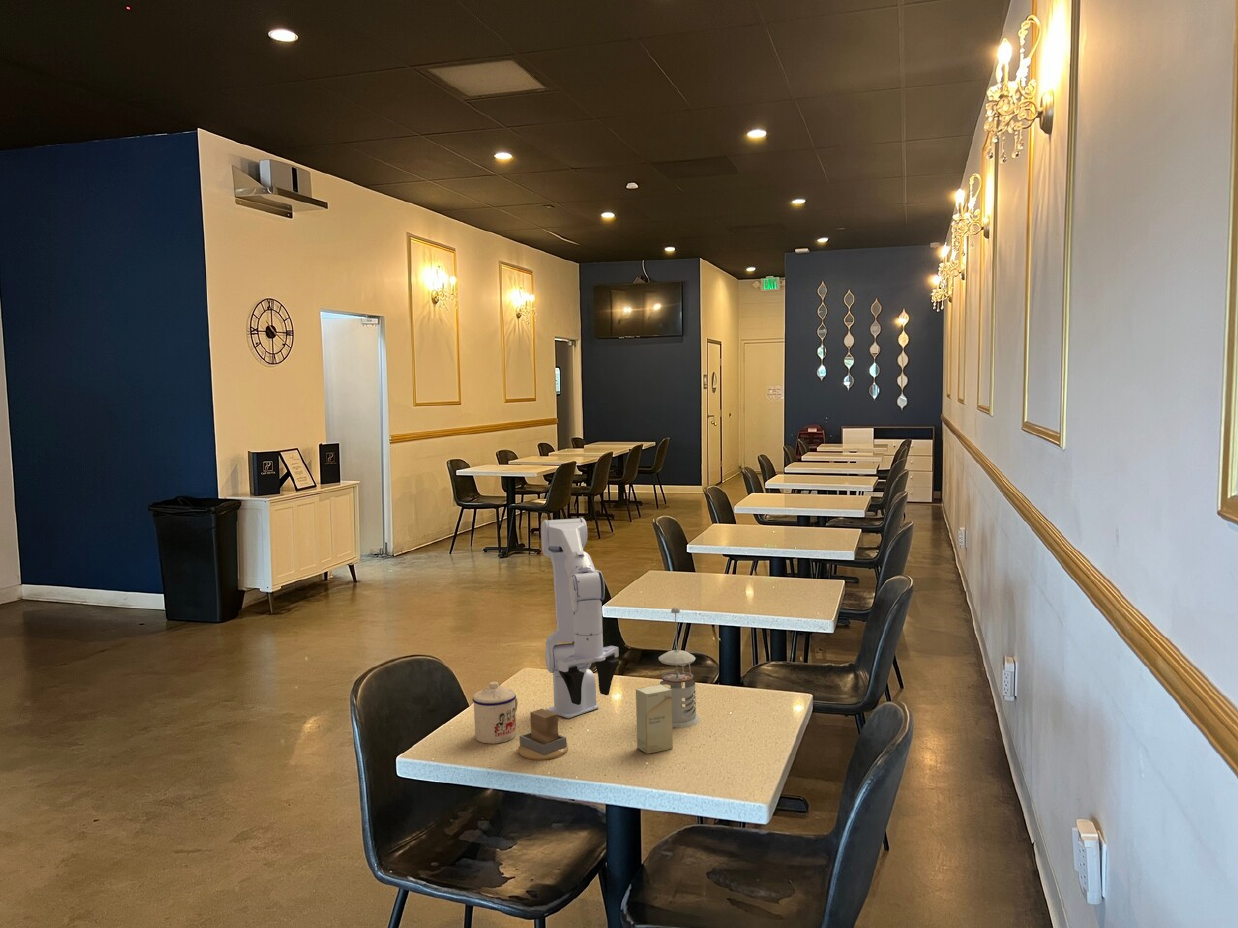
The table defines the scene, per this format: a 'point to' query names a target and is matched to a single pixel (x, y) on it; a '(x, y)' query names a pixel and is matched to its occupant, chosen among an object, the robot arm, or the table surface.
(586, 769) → the table surface
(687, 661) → the french press
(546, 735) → the brown wooden block
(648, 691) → the skincare box
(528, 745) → the grey open box
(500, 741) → the teacup with lid
